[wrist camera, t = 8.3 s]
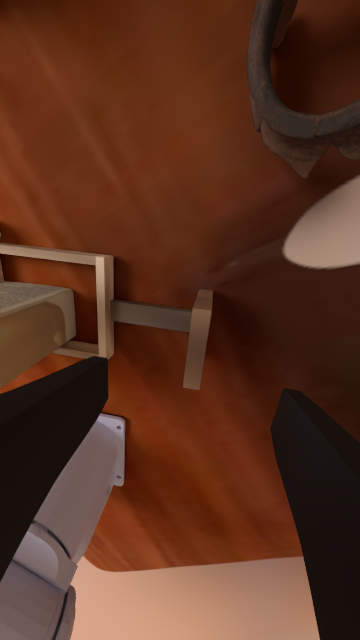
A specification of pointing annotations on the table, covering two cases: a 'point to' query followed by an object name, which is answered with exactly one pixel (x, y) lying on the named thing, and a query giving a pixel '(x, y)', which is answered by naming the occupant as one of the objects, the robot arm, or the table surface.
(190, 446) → the table surface
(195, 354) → the carriage
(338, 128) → the pottery mug
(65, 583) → the robot arm
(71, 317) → the skincare box
